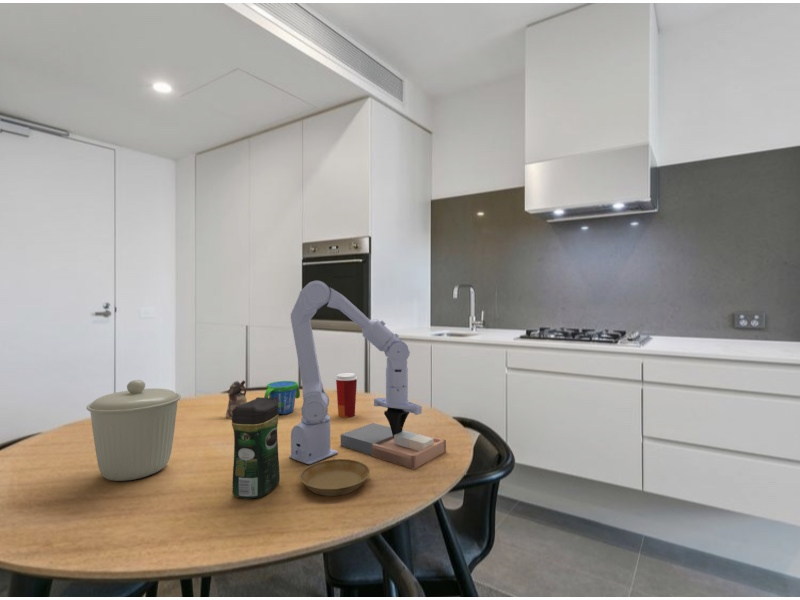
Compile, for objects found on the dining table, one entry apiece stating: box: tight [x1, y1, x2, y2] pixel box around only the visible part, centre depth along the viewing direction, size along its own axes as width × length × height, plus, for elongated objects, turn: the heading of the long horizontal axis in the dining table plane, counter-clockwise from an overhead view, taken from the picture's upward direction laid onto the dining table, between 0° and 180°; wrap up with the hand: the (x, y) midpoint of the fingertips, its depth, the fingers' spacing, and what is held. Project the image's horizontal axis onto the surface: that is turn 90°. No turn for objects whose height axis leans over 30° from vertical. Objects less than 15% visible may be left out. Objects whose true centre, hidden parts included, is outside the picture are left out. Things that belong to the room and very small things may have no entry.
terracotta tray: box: [371, 429, 447, 470], centre depth 102 cm, size 14×13×3 cm
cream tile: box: [408, 433, 434, 451], centre depth 100 cm, size 4×4×2 cm
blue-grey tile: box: [394, 430, 418, 448], centre depth 103 cm, size 4×4×2 cm
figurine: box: [225, 380, 248, 419], centre depth 138 cm, size 7×7×12 cm
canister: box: [85, 379, 182, 482], centre depth 92 cm, size 18×18×21 cm
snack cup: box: [263, 380, 301, 415], centre depth 142 cm, size 16×10×10 cm
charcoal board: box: [340, 422, 405, 456], centre depth 110 cm, size 13×12×3 cm
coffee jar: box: [231, 396, 281, 500], centre depth 83 cm, size 10×8×19 cm
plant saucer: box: [299, 458, 371, 497], centre depth 86 cm, size 15×15×3 cm
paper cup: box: [334, 372, 359, 419], centre depth 138 cm, size 8×8×14 cm
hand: (397, 437), depth 105 cm, fingers closed
